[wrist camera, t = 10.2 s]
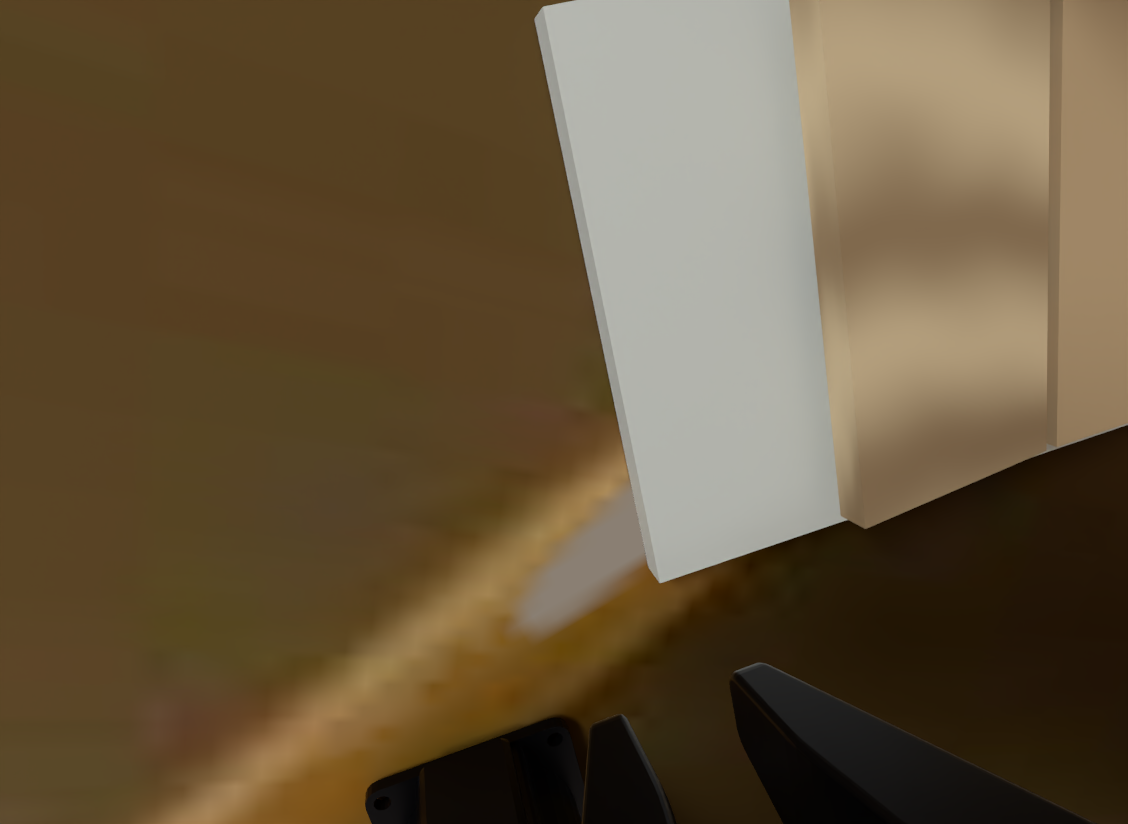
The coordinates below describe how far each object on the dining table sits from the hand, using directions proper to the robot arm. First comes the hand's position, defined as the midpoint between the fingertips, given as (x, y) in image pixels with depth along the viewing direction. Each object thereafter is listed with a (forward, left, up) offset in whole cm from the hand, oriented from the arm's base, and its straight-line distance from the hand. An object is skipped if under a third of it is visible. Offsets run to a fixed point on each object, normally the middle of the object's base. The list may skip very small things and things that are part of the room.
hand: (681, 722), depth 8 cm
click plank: (+2, -12, -11) cm, 16 cm away
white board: (+2, -13, -12) cm, 18 cm away
